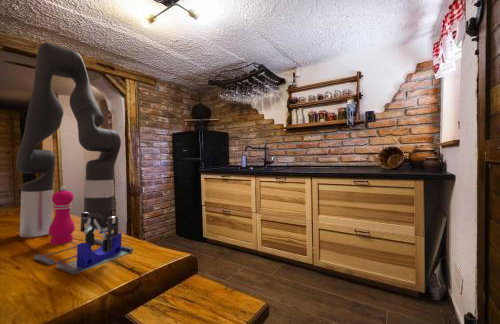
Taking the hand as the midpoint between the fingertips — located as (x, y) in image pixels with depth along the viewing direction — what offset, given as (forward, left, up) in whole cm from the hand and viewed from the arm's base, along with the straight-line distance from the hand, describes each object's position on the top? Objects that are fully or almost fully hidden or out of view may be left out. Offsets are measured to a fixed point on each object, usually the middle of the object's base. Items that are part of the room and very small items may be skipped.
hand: (98, 248), depth 68 cm
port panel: (-6, 0, -3) cm, 7 cm away
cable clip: (0, 0, -3) cm, 3 cm away
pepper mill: (-26, +3, -3) cm, 26 cm away
